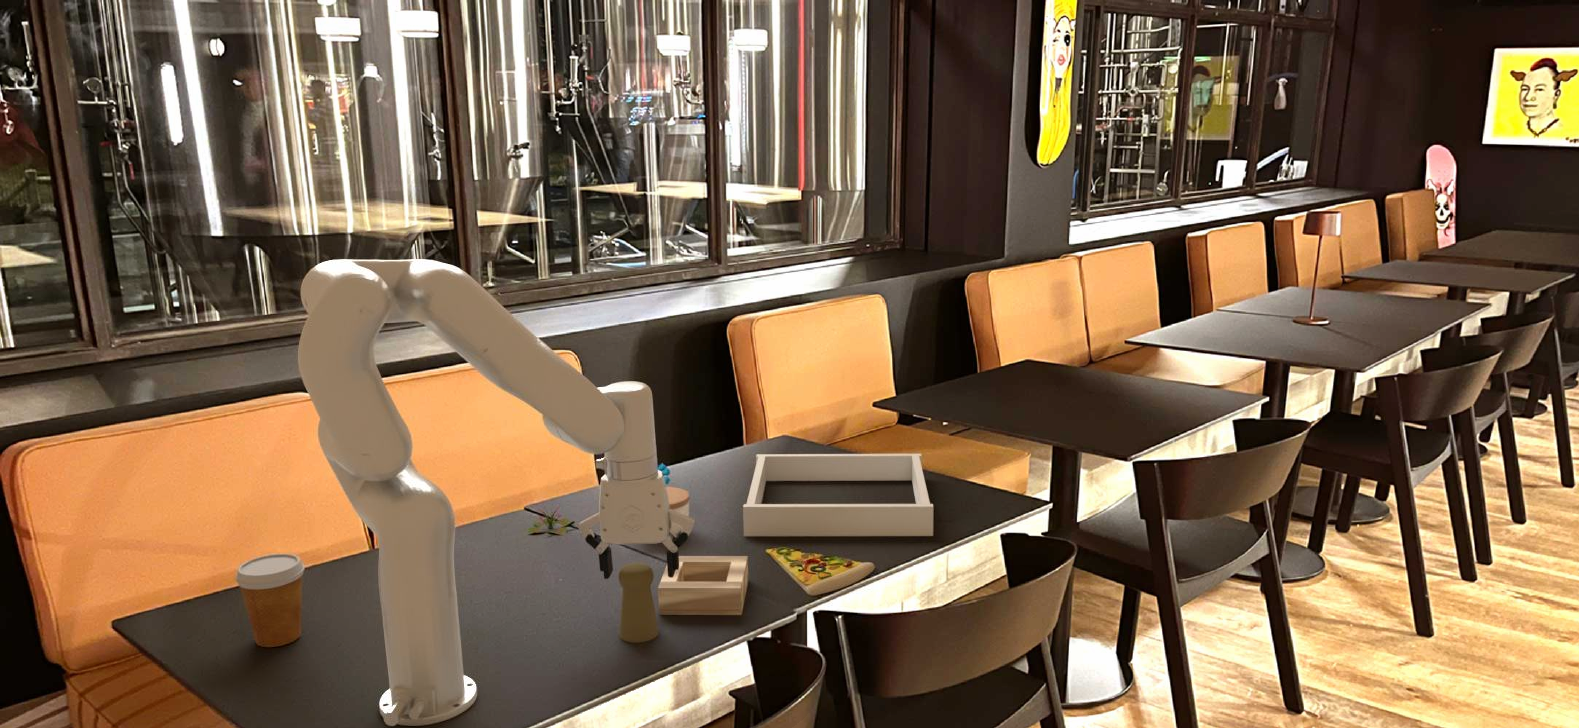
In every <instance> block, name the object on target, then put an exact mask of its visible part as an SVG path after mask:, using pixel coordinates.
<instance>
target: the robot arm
mask: <svg viewBox="0 0 1579 728" xmlns="http://www.w3.org/2000/svg"><path fill="white" fill-rule="evenodd" d="M300 299H301V303H302V306H303V308H304V309H305V311H306V313H307V314H308V317H307V318H306V320H305V322H304V325H303V327H302V331H301V332H300V333H301V334H300V338H299V343H298V350H297V363H298V364H297V365H298V370H299V374H300V376H301V380H302V382H303V386H304V387H305V389H306V391H307V393H308V395H309V398H310V400H311V402H312V404H313V406H314V408H315V410H316V413H317V415H318V417H319V421H318V425H317V426H318V427H317V438H318V443H319V445H320V447H321V450H322V452H323V455H324V456H325V459H326V460H327V462H328V464H329V466H330V468H331V470H332V472H333V473H334V475H335V477H336V479H337V481H338V483H339V484H340V486H341V488H342V490H343V492H344V494H345V496H346V497H347V499H348V500H349V501H348V502H349V503H350V504H351V506H352V508H353V510H354V511H355V513H356V514H357V516H358V517H359V519H360V520H361V521H362V522H363V523H364V525H366V527H368V528H369V530H370V531H371V532H372V533H373V534H374V535H375V536H376V539H377V542H378V564H377V565H378V566H377V568H378V569H377V573H378V574H377V576H378V577H377V578H378V588H379V589H378V590H379V592H378V593H379V599H380V606H381V607H380V608H381V609H380V610H381V617H382V626H383V637H384V645H385V647H384V648H385V654H386V664H387V674H388V684H389V689H388V690H386V691H385V692H384V693H383V694H382V696H381V697H380V699H379V701H378V708H379V713H380V715H381V717H382V718H383V722H384V723H385V724H386V725H387V726H390V727H394V726H396V725H400V726H405V727H406V726H407V727H412V726H413V727H418V726H420V727H421V726H428V725H433V724H438V723H441V722H444V721H448V720H450V719H453V718H455V717H457V716H459V715H461V714H463V712H465V711H467V710H468V709H469V708H471V706H472V705H474V703H475V701H476V699H477V697H478V686H477V684H476V682H475V681H474V680H473V679H472V678H470V677H468V676H467V675H465V674H464V666H463V664H464V663H463V655H462V653H463V651H462V641H461V629H460V628H461V627H460V619H459V607H458V596H457V595H458V594H457V586H456V577H455V576H456V575H455V574H456V573H455V560H454V559H455V551H454V550H455V535H456V517H455V511H454V509H453V505H452V502H451V501H450V499H449V498H448V497H447V495H446V493H444V491H443V490H442V489H441V488H440V487H439V486H438V485H436V484H435V483H434V482H433V481H432V480H430V479H428V478H427V477H426V476H424V475H422V474H421V473H420V472H419V471H418V470H417V468H416V466H415V464H414V462H413V461H412V459H411V458H412V455H413V439H412V435H411V432H410V430H409V427H408V426H407V424H406V422H405V420H404V419H403V417H402V415H401V414H400V411H399V410H398V407H397V406H396V404H395V402H394V400H393V398H392V396H391V395H390V392H389V391H388V389H387V387H386V385H385V382H384V380H383V378H382V376H381V373H380V371H379V369H378V365H377V364H376V360H375V356H374V355H375V353H374V351H375V350H374V347H375V343H376V340H377V338H378V335H379V332H380V331H381V329H382V328H383V326H384V325H385V324H392V323H393V324H395V323H408V322H409V323H411V322H418V323H421V324H423V325H424V326H425V327H426V328H428V329H429V330H430V331H432V333H434V334H435V335H436V336H437V337H438V338H439V339H441V340H442V341H443V342H444V343H445V344H447V345H448V346H449V347H450V348H451V349H452V350H453V351H455V352H456V354H458V355H459V356H460V357H462V358H463V360H465V361H466V362H467V363H468V364H469V365H471V367H472V368H473V369H475V370H476V371H477V372H478V373H479V374H481V375H482V376H483V377H484V378H485V379H487V380H488V381H489V382H491V383H492V384H493V385H494V386H496V387H497V388H500V389H501V390H503V392H506V393H508V394H510V395H511V396H513V397H515V398H517V399H519V400H520V401H522V402H524V403H525V404H527V405H529V406H530V407H531V408H533V409H534V410H536V411H537V412H538V413H539V414H541V415H542V421H543V425H544V427H545V429H546V430H547V431H548V432H549V433H550V434H551V435H552V436H554V438H557V439H559V440H560V441H562V442H564V443H567V444H568V445H570V446H573V447H574V448H577V449H578V450H580V451H583V452H584V453H587V454H591V455H602V454H604V457H603V458H601V459H600V458H599V459H596V460H595V468H596V469H601V470H603V472H604V475H603V476H602V477H601V478H600V484H599V498H598V499H599V502H598V504H599V505H598V512H596V513H595V514H593V515H590V516H589V517H587V518H585V519H584V520H582V521H580V522H579V524H578V525H577V528H578V529H577V530H579V532H580V533H581V536H582V537H583V538H584V540H585V542H586V543H587V544H588V545H589V546H590V547H591V548H593V549H594V550H595V551H594V552H595V553H596V554H597V555H598V563H599V571H600V572H603V579H604V580H608V579H610V577H611V576H612V574H613V571H614V568H613V557H612V555H613V554H612V548H611V546H610V545H651V544H653V545H654V544H663V545H664V546H665V548H667V551H666V566H667V569H668V577H670V578H673V576H674V573H675V571H676V570H678V569H679V556H680V555H679V549H680V547H682V546H683V545H684V544H685V542H686V541H687V540H688V538H689V536H690V534H691V532H692V530H693V528H694V525H695V519H694V518H692V517H689V516H688V517H687V516H685V515H683V514H681V513H678V512H676V511H674V510H672V509H670V505H669V499H668V494H667V489H666V487H667V484H665V480H664V478H665V476H663V474H662V471H660V470H658V467H657V465H658V457H657V456H658V455H657V443H656V442H657V441H656V431H655V430H656V429H655V413H654V402H653V401H654V399H653V391H652V389H651V387H650V386H649V385H647V384H646V383H644V382H640V381H634V380H633V381H631V380H629V381H627V380H626V381H618V382H614V383H613V382H612V383H611V384H609V385H606V386H601V387H599V386H598V387H597V386H596V385H595V384H594V383H593V382H592V381H590V379H588V378H587V377H586V376H585V375H583V374H582V373H581V372H580V371H578V370H577V369H576V368H575V367H574V366H572V365H571V364H570V363H569V362H567V360H565V359H564V358H563V357H561V356H560V355H559V354H557V352H555V351H554V350H553V349H552V348H551V347H550V346H548V344H546V343H545V342H544V341H543V340H541V339H540V338H539V337H538V336H536V335H535V334H534V333H533V332H531V330H529V329H528V328H527V327H526V326H525V325H524V324H522V322H520V320H518V319H517V318H516V317H515V316H514V315H513V314H511V313H510V312H509V311H508V309H506V308H505V307H504V306H503V305H502V304H501V303H500V302H499V301H498V300H497V299H495V297H494V296H492V294H490V293H489V292H488V291H487V290H486V289H485V288H484V287H483V286H482V285H481V284H480V283H479V282H478V281H476V280H475V279H474V278H473V277H472V276H471V275H470V274H468V273H467V272H466V271H464V269H461V268H460V267H457V266H455V265H453V264H448V263H444V262H441V261H437V260H434V259H332V260H327V261H323V262H321V263H318V264H317V265H314V266H313V267H312V268H311V269H310V270H308V272H307V273H306V275H304V278H303V279H302V283H301V286H300ZM671 521H672V522H674V523H677V524H679V525H681V526H682V527H683V529H682V531H681V532H680V533H678V535H677V536H675V535H674V533H673V532H672V531H671V530H670V529H671ZM597 524H599V534H600V536H599V535H598V534H596V533H595V532H594V531H593V529H592V528H593V527H594V526H596V525H597Z"/></svg>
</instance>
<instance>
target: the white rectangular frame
mask: <svg viewBox="0 0 1579 728" xmlns="http://www.w3.org/2000/svg"><path fill="white" fill-rule="evenodd" d="M755 455H756V456H755V468H754V473H753V477H752V481H751V484H750V488H749V492H748V495H747V501H746V503H744V504H743V506H742V517H743V519H742V520H743V537H933V536H934V504H933V503H931V501H930V497H929V493H928V489H927V484H926V480H925V476H924V471H923V467H922V454H921V453H815V454H814V453H798V454H797V453H793V454H792V453H787V454H785V453H783V454H782V453H781V454H777V453H775V454H769V453H767V454H766V453H765V454H761V453H760V454H759V453H758V454H755ZM785 481H787V482H789V481H791V482H794V481H795V482H800V481H801V482H808V481H810V482H816V481H817V482H818V481H819V482H820V481H821V482H822V481H823V482H826V481H827V482H829V481H834V482H835V481H837V482H838V481H843V482H844V481H845V482H846V481H847V482H849V481H854V482H855V481H862V482H863V481H864V482H865V481H911V483H912V487H913V494H914V499H915V503H774V504H773V503H762V502H763V498H764V492H765V487H766V483H767V482H785Z"/></svg>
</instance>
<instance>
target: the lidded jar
mask: <svg viewBox="0 0 1579 728" xmlns="http://www.w3.org/2000/svg"><path fill="white" fill-rule="evenodd" d="M666 489H667V494H668V499H669V505H670V509H672V510H674V511H676V512H678V513H681V514H683V515H685V516H687V517H689V515H690V496H691V495H690V493H689V492H688V491H687V490H685V489H683V488H679V487H674V486H673V487H672V486H666ZM670 530H671V531H672V532H673V533H674V535H675V536H676V537H677V536H678V535H679V533H680V532H681V531H682V530H683V527H682V526H681V525H679V524H677V523H674V522H672V521H671V529H670Z"/></svg>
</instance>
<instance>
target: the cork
mask: <svg viewBox="0 0 1579 728" xmlns="http://www.w3.org/2000/svg"><path fill="white" fill-rule="evenodd" d="M654 574H655V573H654V571H653V568H652V567H651V565H650V564H648V563H645V562H640V561H639V562H638V561H637V562H636V561H635V562H630V563H627V564H624V565H623V566H622V567H621V568H620V570H619V572H618V583H619V586H621V588H622V594H621V595H622V597H621V604H620V605H621V607H620V618H619V632H618V635H619V638H620V639H621V640H622V641H625V642H627V643H633V644H634V643H635V644H636V643H637V644H639V643H645V642H646V643H647V642H648V641H652V640H653V639H655V638H657V637H658V636H659V634H660V631H659V629H660V628H659V625H658V619H657V614H656V609H655V604H654V599H653V598H654V597H653V593H652V587H651V585H652V584H653V581H654Z"/></svg>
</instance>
